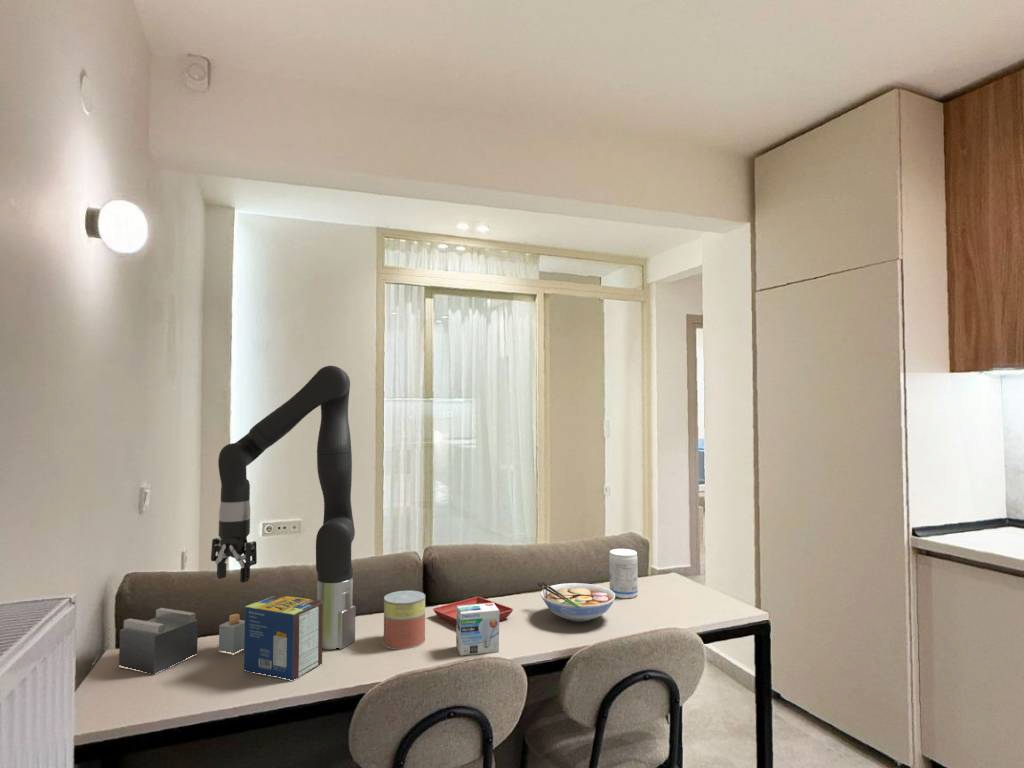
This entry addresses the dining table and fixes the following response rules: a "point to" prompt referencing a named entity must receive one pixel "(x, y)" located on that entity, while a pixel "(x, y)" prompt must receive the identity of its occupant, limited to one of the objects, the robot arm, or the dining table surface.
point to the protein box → (283, 636)
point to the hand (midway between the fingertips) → (232, 579)
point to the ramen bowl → (577, 600)
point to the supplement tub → (623, 573)
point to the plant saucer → (450, 610)
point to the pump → (232, 634)
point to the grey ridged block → (158, 640)
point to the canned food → (404, 619)
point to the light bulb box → (477, 629)
